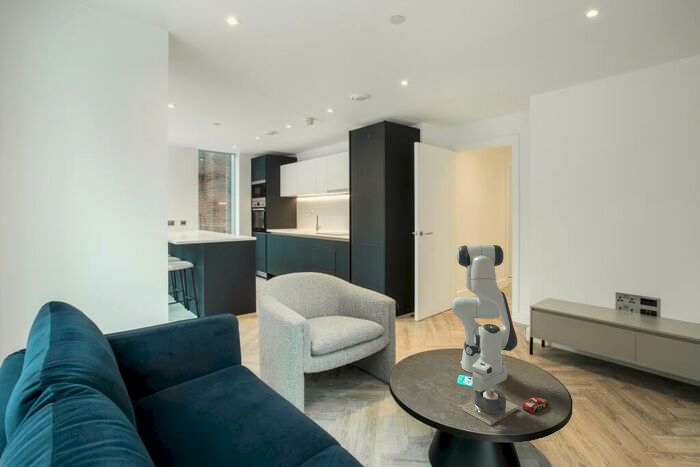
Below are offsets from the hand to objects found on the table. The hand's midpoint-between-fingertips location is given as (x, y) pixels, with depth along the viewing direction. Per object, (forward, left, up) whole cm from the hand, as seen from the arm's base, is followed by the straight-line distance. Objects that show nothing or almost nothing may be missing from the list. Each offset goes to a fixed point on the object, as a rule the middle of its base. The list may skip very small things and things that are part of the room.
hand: (490, 394), depth 152 cm
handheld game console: (-15, -19, -7) cm, 25 cm away
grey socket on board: (0, 0, -7) cm, 7 cm away
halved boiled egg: (0, 0, -4) cm, 4 cm away
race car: (-18, +10, -7) cm, 22 cm away
